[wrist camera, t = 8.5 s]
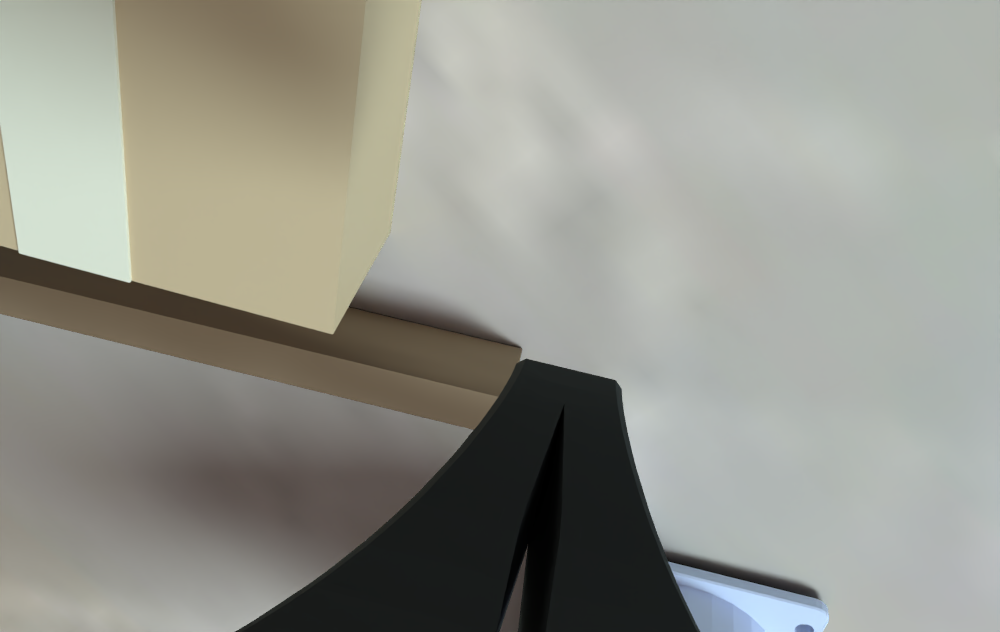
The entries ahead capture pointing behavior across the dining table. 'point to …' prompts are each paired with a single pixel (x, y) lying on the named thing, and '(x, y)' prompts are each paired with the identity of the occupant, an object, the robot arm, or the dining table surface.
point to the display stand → (271, 341)
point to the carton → (207, 143)
